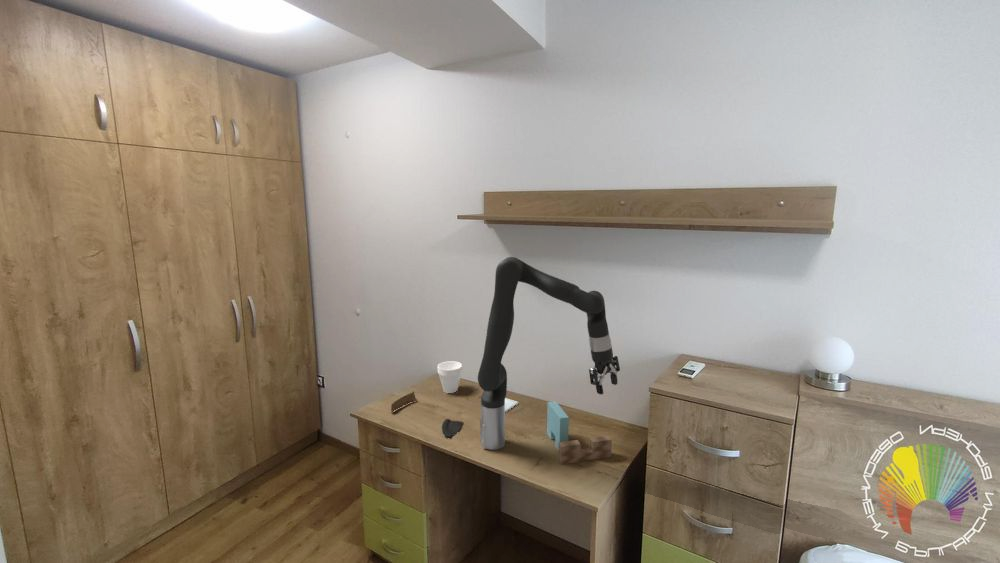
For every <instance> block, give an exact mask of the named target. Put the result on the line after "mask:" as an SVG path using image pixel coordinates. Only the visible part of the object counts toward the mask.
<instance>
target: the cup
mask: <svg viewBox="0 0 1000 563" xmlns="http://www.w3.org/2000/svg"><path fill="white" fill-rule="evenodd" d="M462 372H463V365H462V363H461V362H459V361H454V360H451V361H450V360H448V361H443V362H440V363H439V364H437V373H438V376H439V380H440V384H441V387H442V391H443V393H444V392H446V393H453V392H456V391H457V392H458V389H459V385H460V380H461V375H462ZM457 392H456V393H457ZM446 393H445V394H446Z"/></svg>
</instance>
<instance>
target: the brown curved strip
mask: <svg viewBox="0 0 1000 563" xmlns="http://www.w3.org/2000/svg"><path fill="white" fill-rule="evenodd" d="M414 401H417V402H418V398H416V395H415V391H412V392H409V393H408V394H406V395H404V396H402V397H400V398H398V399H397V400H396V401H394V402H393V403H391V407H390V408H391V409H390V412H391V413H392V412H393V411H394V410H396V409H398V408H400V407H402V406H403V405H406V404H408V403H410V402H414Z"/></svg>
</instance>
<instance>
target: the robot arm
mask: <svg viewBox="0 0 1000 563" xmlns="http://www.w3.org/2000/svg"><path fill="white" fill-rule="evenodd" d="M494 279H495V280H494V294H493V298H492V303H491V307H490V312H489V317H488V322H487V328H486V336H485V343H484V347H483V348H484V350H483V355H482V359H481V362H480V363H481V364H480V366H479V371H478V373H477V374H478V375H477V382H478V385H479V387H480V388H481V389H482V390H483V392H482V394H481V397H480V413H481V415H480V416H481V417H480V420H479V425H480V426H479V429H480V431H479V432H480V433H479V434H480V443H481V447H482V449H483V450H489V451H496V450H500V449H502V448H503V447H504V446H505V445H506V419H505V418H506V413H505V398H507V393H508V374H507V373H508V372H507V369H506V367H505V366H504V364H503V363H502V359H503V356H504V354H505V352H506V349H507V347H508V345H509V342H510V340H511V337H512V332H513V327H514V322H515V308H514V300H515V294H516V291H517V290H516V289H517V286H518V284H519V283H524V284H526V285H530V286H532V287H535V288H536V289H538V290H540V291H541V292H543V293H545V294H546V295H548V296H549V297H552V298H553V299H556V300H559V301H562V302H564V303H565V304H570V305H571V306H573V307H574V308H577V309H578V310H579V311H581V312H583V313H585V314H586V316H587V317H586V318H587V324H586V326H587V332H588V341H589V348H590V356H591V360H592V361H593V363H594V367H590V368H589V369H588V372H589V379H590V380H589V381H590V384H591V385H594V386H595V389H596V393H597V394H598V395H604V388H603V384H602V383H603V381H604V379H605V376H606V375H607V374H610V375H609V376H610V382H611V383H610V384H612V385H613V386H616V385H618V372H620V371H621V368H620V363H619V357H618V355H614V353H613V346H612V340H611V337H610V333H609V325H608V322H607V317H606V304H605V299H604V296H603V294H602V293H601V292H600V291H598V290H590V291H585V290H583V289H581V288H580V287H579V286H578V285H576V284H575V283H571V282H569V281H567V280H564V279H561V278H558V277H555V276H553V275H551V274H548V273H546V272H544V271H541V270H539V269H537V268H535V267H533V266H532V265H530V264H528V263H526V262H524V261H523V260H521V259H519V258H518V257H516V256H508V257H506V258H504V259H503V260H501V261H500V262H499V263H498V265H497V266H496V269H495V278H494Z"/></svg>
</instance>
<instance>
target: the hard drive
mask: <svg viewBox="0 0 1000 563" xmlns="http://www.w3.org/2000/svg"><path fill="white" fill-rule="evenodd" d="M515 405H516V406H518V405H519V401H516V400H513V399H511V398H507V397H505V412H506V413H507V412H509V411H510V410H512V409H513V408H514V406H515ZM516 406H515V407H516ZM511 408H512V409H511ZM508 410H509V411H508Z"/></svg>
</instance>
